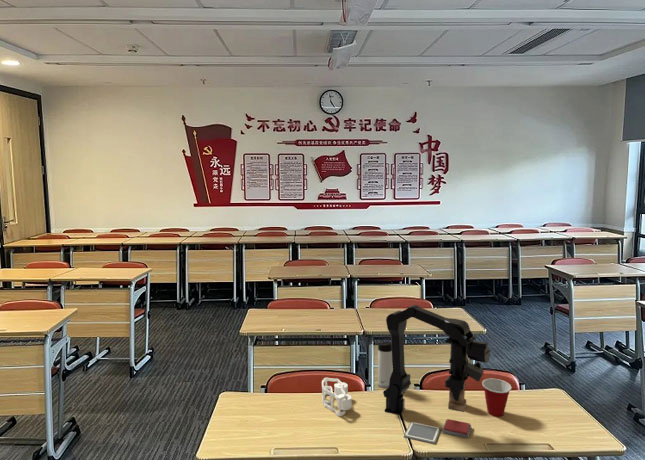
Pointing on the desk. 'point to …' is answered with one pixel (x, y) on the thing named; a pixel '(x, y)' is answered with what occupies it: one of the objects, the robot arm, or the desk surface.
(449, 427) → the ink pad
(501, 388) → the plastic cup
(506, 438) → the desk surface
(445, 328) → the robot arm
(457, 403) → the stamp
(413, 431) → the marked board
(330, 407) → the white open frame block
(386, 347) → the travel mug
